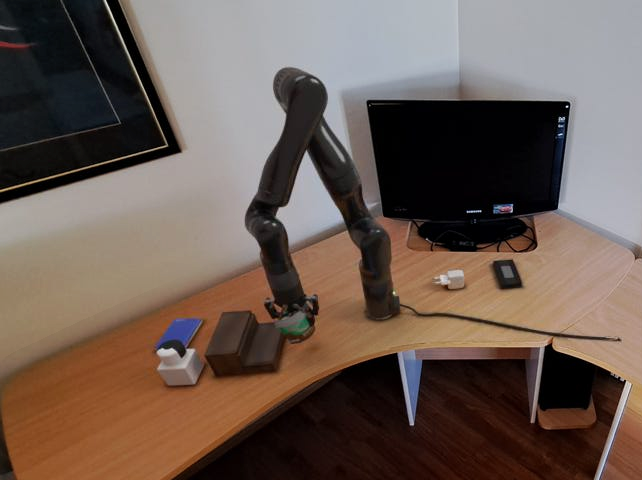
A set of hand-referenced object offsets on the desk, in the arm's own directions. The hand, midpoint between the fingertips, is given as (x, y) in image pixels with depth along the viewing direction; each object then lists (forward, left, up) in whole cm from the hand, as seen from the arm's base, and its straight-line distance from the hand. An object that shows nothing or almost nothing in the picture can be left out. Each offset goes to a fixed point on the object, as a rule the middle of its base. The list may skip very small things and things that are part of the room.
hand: (300, 325), depth 127 cm
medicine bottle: (+31, +7, -9) cm, 33 cm away
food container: (-2, 0, -3) cm, 4 cm away
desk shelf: (+15, 0, -9) cm, 18 cm away
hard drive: (+38, -9, -9) cm, 40 cm away
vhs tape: (-67, -28, -9) cm, 73 cm away
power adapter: (-45, -24, -9) cm, 52 cm away
